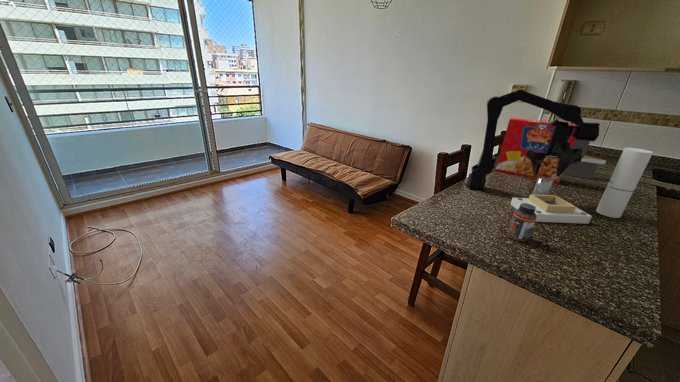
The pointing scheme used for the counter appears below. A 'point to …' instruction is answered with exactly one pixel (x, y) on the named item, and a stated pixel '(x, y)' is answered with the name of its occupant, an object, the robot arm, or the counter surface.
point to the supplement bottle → (522, 222)
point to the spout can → (542, 186)
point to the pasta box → (527, 149)
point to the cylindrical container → (623, 181)
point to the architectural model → (583, 162)
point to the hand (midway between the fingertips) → (546, 175)
